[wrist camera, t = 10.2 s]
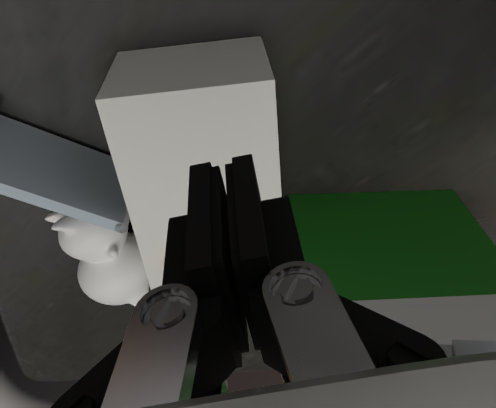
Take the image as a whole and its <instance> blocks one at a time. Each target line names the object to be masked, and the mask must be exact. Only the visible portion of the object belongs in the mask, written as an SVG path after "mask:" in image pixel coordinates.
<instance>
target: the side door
mask: <svg viewBox="0 0 496 408" xmlns="http://www.w3.org/2000/svg"><path fill="white" fill-rule="evenodd" d="M0 194H2V195H5V196H8V197H11V198H14V199H17V200H20V201H23V202H26V203H29V204H32V205H36V206H39V207H42V208H45V209H48V210H51V211H54V212H57V213H60V214H63V215H66V216H69V217H72V218H76V219H79V220H82V221H85V222H88V223H91V224H94V225H97V226H100V227H103V228H106V229H109V230H112V231H116V232H119V233H125V232H126V231H127V229H128V224H129V220H130V217H129V214H128V210H127V207H126V204H125V200H124V197H123V193H122V190H121V187H120V183H119V180H118V177H117V173H116V170H115V166H114V163H113V160H112V156H109V155H107V154H104V153H101V152H99V151H96V150H93V149H91V148H88V147H85V146H83V145H80V144H77V143H75V142H72V141H69V140H67V139H64V138H61V137H59V136H56V135H53V134H51V133H48V132H45V131H43V130H40V129H37V128H35V127H32V126H29V125H27V124H24V123H21V122H19V121H16V120H13V119H11V118H8V117H5V116H3V115H0Z"/></svg>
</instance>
